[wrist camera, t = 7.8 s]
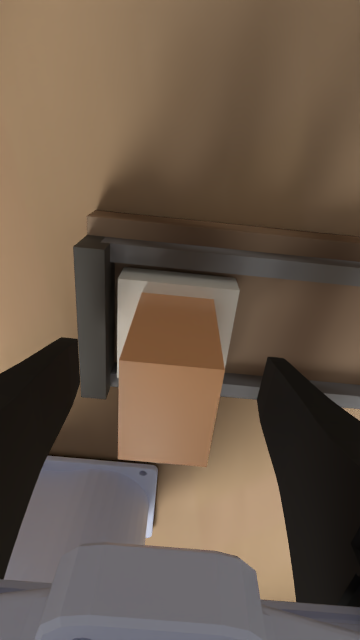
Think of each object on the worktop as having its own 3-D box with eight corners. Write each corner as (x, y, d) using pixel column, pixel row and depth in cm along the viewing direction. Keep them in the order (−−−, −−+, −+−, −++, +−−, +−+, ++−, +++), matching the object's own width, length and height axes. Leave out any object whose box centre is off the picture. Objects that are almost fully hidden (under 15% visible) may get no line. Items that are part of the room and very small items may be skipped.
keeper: (122, 360, 17) (88, 466, 11) (124, 267, 15) (82, 341, 9) (219, 368, 17) (233, 479, 12) (235, 277, 15) (263, 358, 9)
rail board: (99, 368, 20) (81, 409, 17) (95, 210, 16) (72, 225, 12) (432, 399, 20) (476, 445, 17) (514, 252, 16) (593, 277, 13)
